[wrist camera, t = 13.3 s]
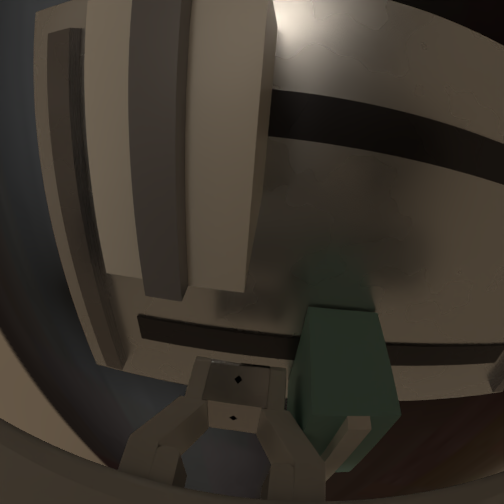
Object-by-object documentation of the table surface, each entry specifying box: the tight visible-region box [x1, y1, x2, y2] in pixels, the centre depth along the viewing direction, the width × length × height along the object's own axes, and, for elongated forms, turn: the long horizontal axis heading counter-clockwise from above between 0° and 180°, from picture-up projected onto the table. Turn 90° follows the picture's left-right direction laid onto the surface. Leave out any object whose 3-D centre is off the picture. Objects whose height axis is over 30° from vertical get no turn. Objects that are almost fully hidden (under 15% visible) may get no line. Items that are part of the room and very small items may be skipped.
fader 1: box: [84, 0, 278, 302], centre depth 6 cm, size 2×4×4 cm, turn 175°
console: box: [34, 0, 504, 401], centre depth 10 cm, size 22×15×2 cm
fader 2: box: [287, 307, 401, 481], centre depth 10 cm, size 2×4×4 cm, turn 176°
